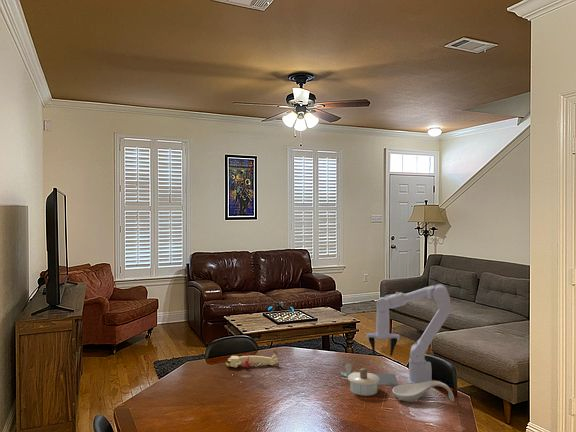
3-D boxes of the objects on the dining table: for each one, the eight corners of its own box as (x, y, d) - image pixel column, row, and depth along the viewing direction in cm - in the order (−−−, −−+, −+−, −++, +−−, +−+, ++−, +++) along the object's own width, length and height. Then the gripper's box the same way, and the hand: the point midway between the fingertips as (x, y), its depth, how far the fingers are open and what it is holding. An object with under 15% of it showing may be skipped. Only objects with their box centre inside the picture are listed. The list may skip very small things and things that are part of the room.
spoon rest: (395, 404, 181) (395, 386, 181) (390, 393, 192) (390, 376, 192) (457, 406, 179) (457, 387, 179) (448, 394, 191) (448, 377, 191)
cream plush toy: (276, 364, 233) (225, 362, 230) (277, 347, 233) (227, 344, 230) (278, 371, 223) (225, 369, 220) (279, 353, 223) (227, 350, 220)
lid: (378, 374, 200) (378, 364, 199) (380, 385, 187) (380, 375, 187) (347, 373, 201) (347, 363, 201) (347, 384, 188) (347, 373, 188)
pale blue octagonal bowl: (376, 386, 199) (376, 375, 199) (378, 397, 188) (378, 384, 188) (350, 385, 200) (350, 374, 200) (350, 395, 189) (350, 383, 189)
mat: (394, 375, 213) (394, 374, 213) (398, 386, 199) (398, 385, 199) (363, 373, 215) (363, 372, 215) (365, 385, 201) (365, 383, 201)
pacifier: (357, 380, 206) (356, 375, 212) (357, 367, 206) (356, 362, 212) (340, 380, 207) (340, 375, 213) (340, 366, 207) (340, 361, 213)
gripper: (398, 323, 212) (397, 352, 213) (365, 321, 214) (365, 351, 214) (400, 326, 205) (399, 357, 206) (366, 325, 207) (366, 356, 207)
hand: (382, 354), depth 209 cm, fingers open, 7 cm apart
